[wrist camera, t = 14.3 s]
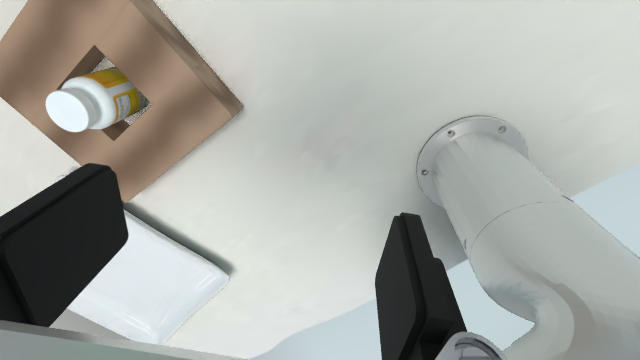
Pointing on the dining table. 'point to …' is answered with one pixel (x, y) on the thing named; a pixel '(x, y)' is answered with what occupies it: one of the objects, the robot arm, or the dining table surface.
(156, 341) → the square plate
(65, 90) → the supplement bottle
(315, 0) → the dining table surface
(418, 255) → the robot arm
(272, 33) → the dining table surface
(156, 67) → the walnut socket block
